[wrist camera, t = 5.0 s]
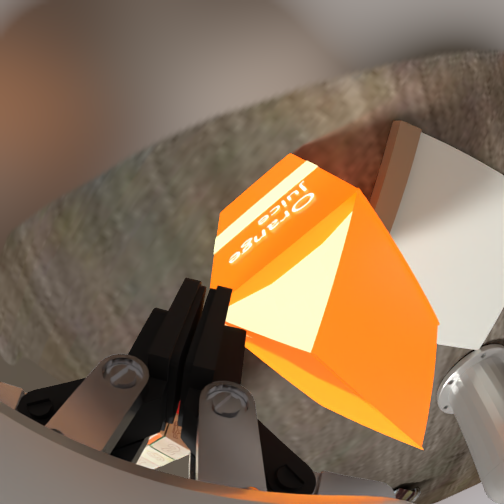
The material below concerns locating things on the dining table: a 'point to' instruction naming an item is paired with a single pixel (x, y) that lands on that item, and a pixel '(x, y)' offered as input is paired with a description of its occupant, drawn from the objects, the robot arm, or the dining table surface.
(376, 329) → the orange juice
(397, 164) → the mat
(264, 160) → the dining table surface
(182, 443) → the stack of blocks
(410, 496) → the chocolate cake
